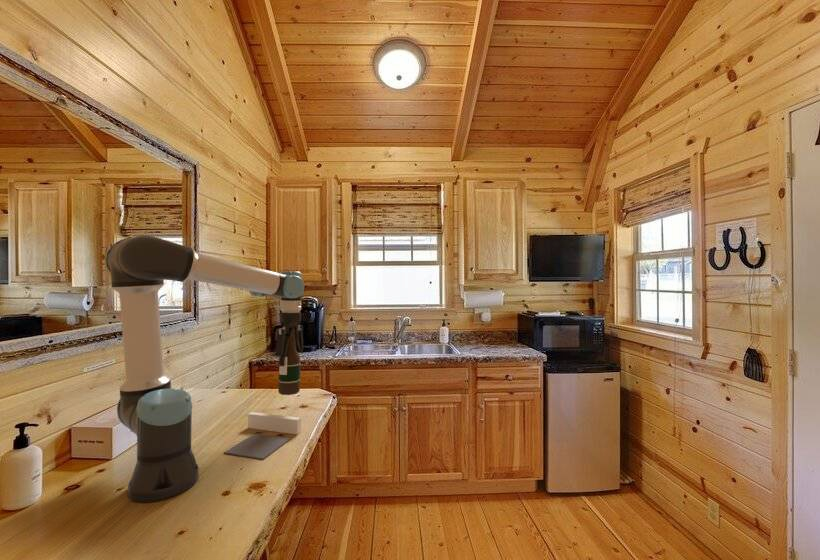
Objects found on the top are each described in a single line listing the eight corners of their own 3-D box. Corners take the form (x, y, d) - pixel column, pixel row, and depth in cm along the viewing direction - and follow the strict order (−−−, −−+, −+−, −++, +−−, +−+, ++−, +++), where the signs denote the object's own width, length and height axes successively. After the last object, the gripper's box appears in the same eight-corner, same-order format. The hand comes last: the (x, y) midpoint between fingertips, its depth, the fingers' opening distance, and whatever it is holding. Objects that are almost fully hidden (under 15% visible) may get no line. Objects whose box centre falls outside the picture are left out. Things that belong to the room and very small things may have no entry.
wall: (297, 434, 124) (297, 419, 124) (248, 427, 129) (248, 413, 129) (300, 432, 126) (300, 417, 126) (251, 425, 131) (251, 412, 131)
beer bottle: (273, 393, 135) (275, 329, 135) (289, 388, 142) (290, 327, 142) (288, 396, 131) (290, 330, 132) (304, 391, 138) (305, 328, 139)
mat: (263, 459, 107) (263, 458, 107) (224, 453, 110) (224, 452, 110) (290, 439, 120) (290, 438, 120) (254, 434, 124) (254, 433, 124)
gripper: (283, 314, 126) (282, 379, 126) (313, 310, 146) (312, 366, 146) (265, 313, 128) (263, 377, 128) (297, 309, 148) (296, 365, 148)
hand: (289, 371), depth 137 cm, fingers closed on beer bottle, 8 cm apart
